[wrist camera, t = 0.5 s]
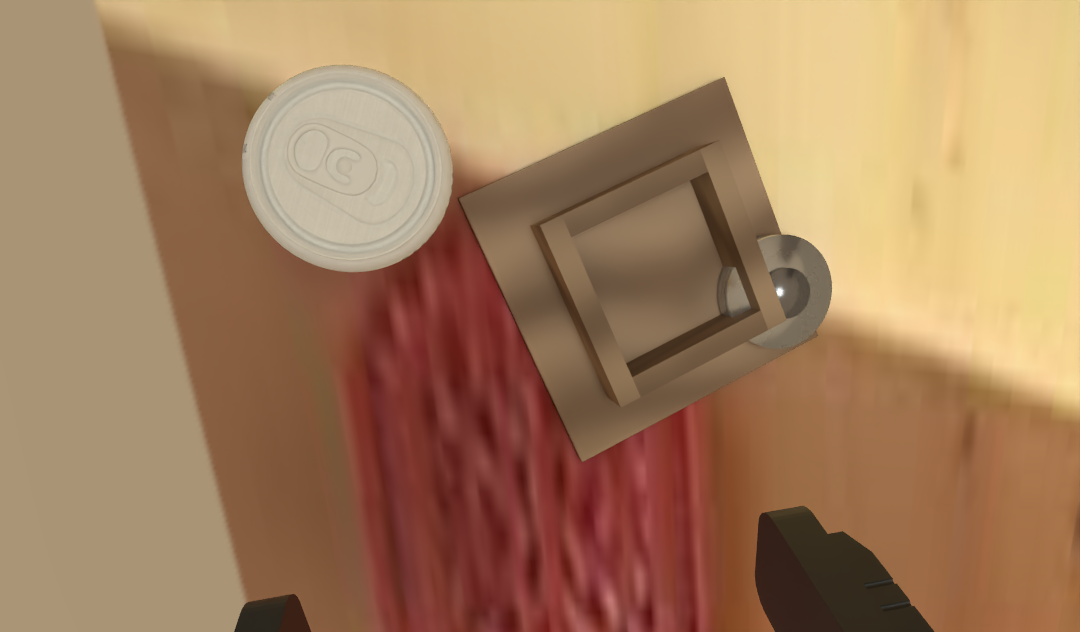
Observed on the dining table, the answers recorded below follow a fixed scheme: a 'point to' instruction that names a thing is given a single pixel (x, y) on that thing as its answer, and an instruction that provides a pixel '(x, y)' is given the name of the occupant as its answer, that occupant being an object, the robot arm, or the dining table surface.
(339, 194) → the beer can
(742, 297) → the ring nut
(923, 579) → the dining table surface
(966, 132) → the dining table surface
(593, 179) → the socket board
